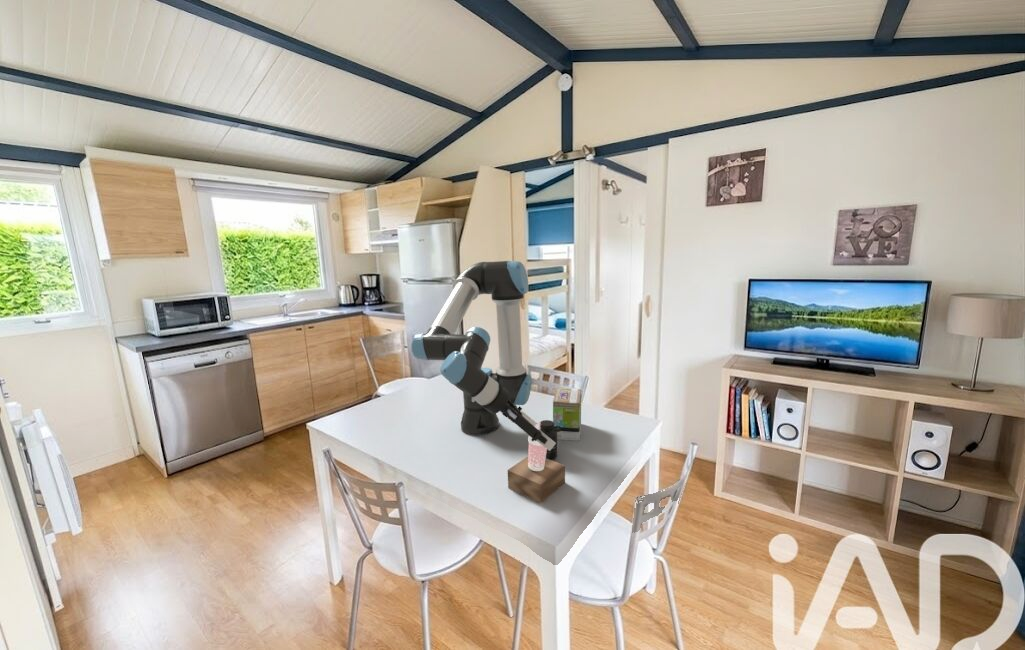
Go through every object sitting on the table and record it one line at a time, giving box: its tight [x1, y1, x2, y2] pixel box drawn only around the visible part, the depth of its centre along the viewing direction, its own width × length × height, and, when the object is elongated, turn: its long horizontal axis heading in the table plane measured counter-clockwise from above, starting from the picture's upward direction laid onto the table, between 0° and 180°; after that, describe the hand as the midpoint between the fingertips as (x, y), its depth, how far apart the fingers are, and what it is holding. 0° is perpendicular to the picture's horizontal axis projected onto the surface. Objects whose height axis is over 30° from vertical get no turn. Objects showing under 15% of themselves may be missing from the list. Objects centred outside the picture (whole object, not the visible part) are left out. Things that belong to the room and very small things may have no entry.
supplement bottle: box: [540, 419, 558, 461], centre depth 131 cm, size 7×7×12 cm
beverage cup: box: [527, 421, 547, 471], centre depth 114 cm, size 6×6×14 cm
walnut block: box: [507, 456, 566, 504], centre depth 116 cm, size 12×12×6 cm
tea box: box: [552, 387, 582, 442], centre depth 148 cm, size 15×10×15 cm, turn 168°
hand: (542, 436), depth 114 cm, fingers open, 13 cm apart
